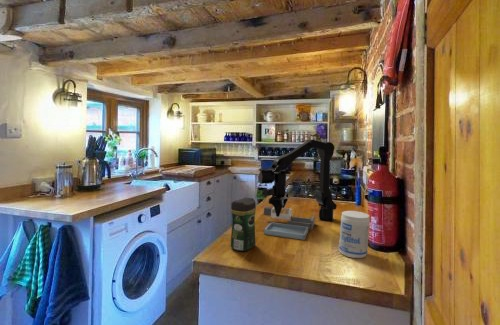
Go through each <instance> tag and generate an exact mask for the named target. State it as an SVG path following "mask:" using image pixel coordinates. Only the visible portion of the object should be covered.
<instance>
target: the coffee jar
mask: <svg viewBox="0 0 500 325" xmlns="http://www.w3.org/2000/svg"><path fill="white" fill-rule="evenodd" d="M256 208H257V205H256V200H255V199H254V198H253V197H248V196H246V197H245V196H244V197H243V198H238V199H237V200H233V201H232V202H231V203H230V211H231V233H230V248H231V249H232V250H234V251H237V252H247V251H249V250H251V249H252V248H254V247H255V245H256V221H255V220H256V219H255V218H256V217H255V216H256Z"/></svg>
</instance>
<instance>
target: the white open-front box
mask: <svg viewBox="0 0 500 325" xmlns="http://www.w3.org/2000/svg"><path fill="white" fill-rule="evenodd" d="M282 209H285V211H286V214H281V213H280V215H279V217H277V216H276V212H275V208H274V206H264V207H263V215H264V216H268V217H269V216H270V218H271V219H279V220H287V221H290V220H291V217H292V216H293V208H290V207H289V208H288V207H284V208H282Z"/></svg>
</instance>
